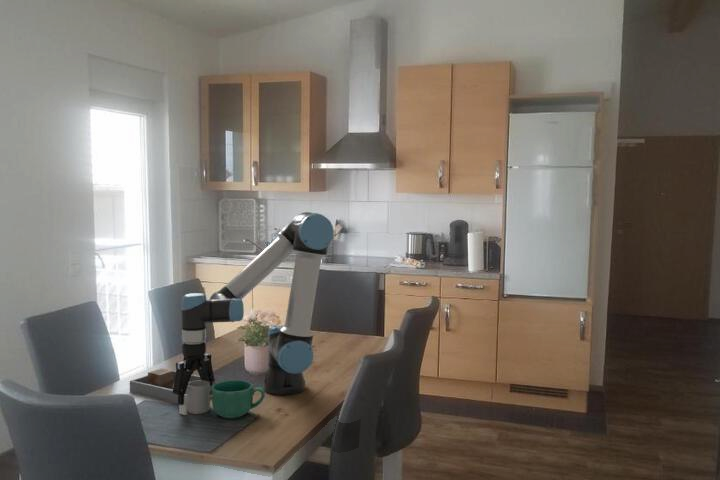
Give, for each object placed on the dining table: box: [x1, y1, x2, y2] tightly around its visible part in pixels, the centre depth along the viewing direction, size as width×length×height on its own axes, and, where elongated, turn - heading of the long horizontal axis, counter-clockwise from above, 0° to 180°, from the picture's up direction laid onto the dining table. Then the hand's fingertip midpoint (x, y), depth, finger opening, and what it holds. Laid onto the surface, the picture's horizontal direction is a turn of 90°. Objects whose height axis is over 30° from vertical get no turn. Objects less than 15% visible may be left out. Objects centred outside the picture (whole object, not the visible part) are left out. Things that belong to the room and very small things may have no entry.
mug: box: [211, 379, 266, 419], centre depth 198 cm, size 17×13×10 cm
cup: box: [181, 380, 211, 415], centre depth 202 cm, size 7×10×9 cm
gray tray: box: [129, 368, 216, 404], centre depth 219 cm, size 24×17×4 cm
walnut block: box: [147, 368, 174, 389], centre depth 222 cm, size 6×6×6 cm
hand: (194, 409), depth 202 cm, fingers open, 9 cm apart
